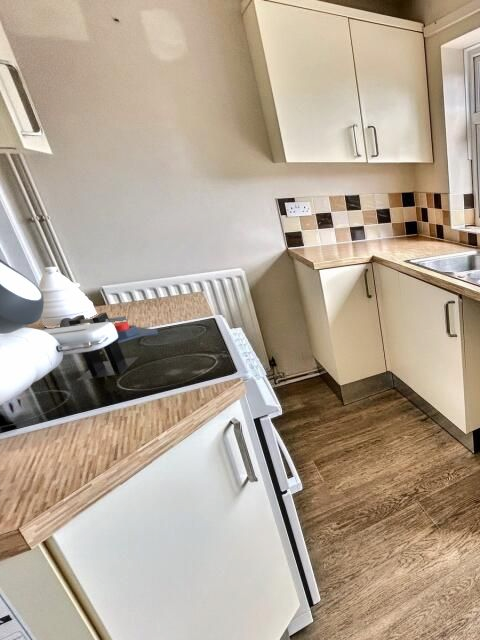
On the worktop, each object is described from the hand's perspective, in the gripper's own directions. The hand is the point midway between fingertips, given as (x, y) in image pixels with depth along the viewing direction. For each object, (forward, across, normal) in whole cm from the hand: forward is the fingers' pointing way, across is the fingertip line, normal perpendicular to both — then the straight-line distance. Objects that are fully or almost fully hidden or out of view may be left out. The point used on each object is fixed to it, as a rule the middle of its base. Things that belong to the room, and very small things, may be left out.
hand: (64, 329), depth 85 cm
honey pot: (+67, +29, +15) cm, 75 cm away
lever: (+5, 0, +2) cm, 5 cm away
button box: (+36, +5, +14) cm, 39 cm away
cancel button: (+36, +5, +11) cm, 38 cm away
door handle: (+53, +18, +15) cm, 58 cm away
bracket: (+10, 0, +14) cm, 17 cm away
